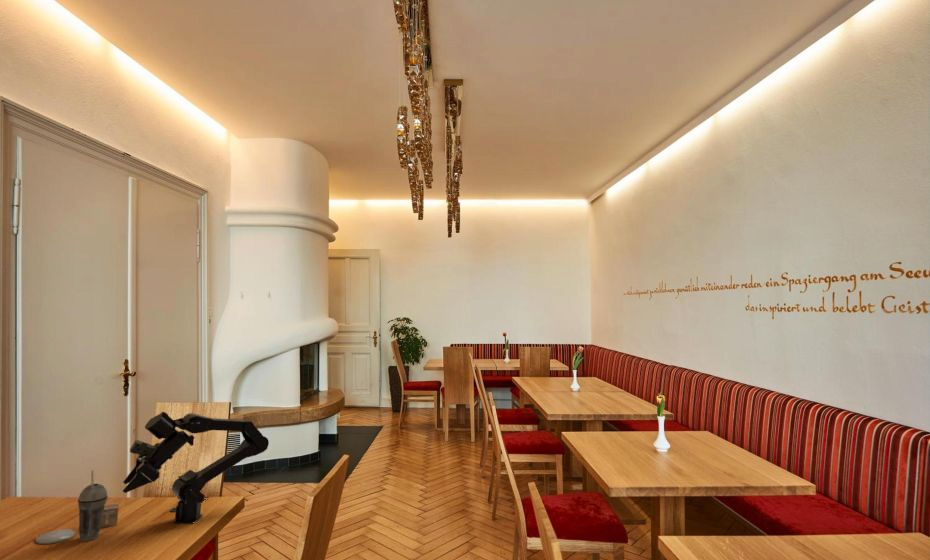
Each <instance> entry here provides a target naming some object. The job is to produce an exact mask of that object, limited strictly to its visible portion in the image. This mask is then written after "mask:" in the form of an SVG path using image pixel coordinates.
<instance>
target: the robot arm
mask: <svg viewBox="0 0 930 560" xmlns="http://www.w3.org/2000/svg"><path fill="white" fill-rule="evenodd" d="M177 428H178V429H180V431H179V430H178V429H177ZM144 429H146V430H147V431H148V433H150V434H152V435H153V436H154V437H156V439H158V440H161V439H163V440H162V441H160V442H156V443H155V444H154V445H153V444H150V443H148V442H145V441H142V440H139V439H135V440H134V442H133V444H132V445H131V447H130V448H129V453H131V454H136V455H137V457H136V459H135V465H134V467H133V468H132V470H130V472H129V473H128V475H127V476H126V477H125V479H124V480H123V482H122V483H123V484H124V485H126V486H125V487H124V488H123V489H122V492H123V493H125V494H127V493H129V492H132V491H133V490H136V489H138V488H141V487H143V486H145V485H148V484H151V483H155V482H156V481H157V480H158V479H159V478H160V474H161V473H160V470H161V469H162V466H163V465H164V464H165V463H166V462H167V461H168V460H172V459H173V458H174V455H175V454H176V453H177V452H178V451H179V450H180V449H181V448H182V447H184V446H185V445H186V444H187V443H188V444H189V445H190V446H192V447H193V446H194V439H195V436H194V435H193V434H202V433H206V432H210V431H225V432H241V436H242V437H243V440H242V442H241V443H240V444H239V445H238V447H237V448H235V449H233V450H232V451H230V452H228V453H227V454H226V455H224V456H222V457H220V458H219V459H217V460H216V461H213V462H212V463H211V464H209V465H208V466H207V465H206V467H204V468H202V469H201V470H199V471H193V470H192V469H188V470H187V471H185V472H184V473H183V474H182V475H178V476H177V479H176V480H174V482H173V484H172V486H171V491H172V493H173V495H176V498H177V500H179V501H178V502H177V505H178V506H177V505H176V506H175V507H176V512H175V517H174V521H173V523H174V524H194V523H193V522H195V521H196V520H197V519H198V520H199V518H200V517H201V516H202V517H203V514H201V511H202V510H201V509H202V504H201V502H202V501H203V499H204V497H206V495H205V494H204V493H202V490H203V488H204V487H205V486H206V484H207V483H208V482H210V481H212V480H213V479H215V478H217V477H219V475H221V474H223V473H225V472H226V471H227V470H229V469H231V468H232V467H234V466H235V465H237V464H239V463H240V462H242V461H243V460H245V459H248V458H252V457H255V456H257V455H259V454H263V453H264V452H265V451H267V450H268V447H269V445H270V444H269V442H270V441H269V439H268V437H266V436H264V434H262V432H261V431H260V430H259V429H258V428H257V427H256V426H255V424H254V422H253V421H251V420H248V419H245V418H243V419H235V418H233V419H232V418H217V417H213V418H212V417H210V416H209V417H208V416H205V415H201V414H197V413H191V412H190V413H187V414H186V415H184V416H183V417H180V418H177V419H173V418H171V417H170V416H169V414H168V413H167V412H165V411H161V412H160V413H159V414H157V415H155V416H154V417H151V418H150V419H149V420H148V421H147V423H146V424H145V426H144ZM187 432H188V433H190V434H191V435H190V434H188V433H187ZM202 517H201V518H202ZM201 518H200V519H201ZM198 520H197V521H198ZM197 521H196V522H197ZM196 522H195V523H196Z"/></svg>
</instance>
